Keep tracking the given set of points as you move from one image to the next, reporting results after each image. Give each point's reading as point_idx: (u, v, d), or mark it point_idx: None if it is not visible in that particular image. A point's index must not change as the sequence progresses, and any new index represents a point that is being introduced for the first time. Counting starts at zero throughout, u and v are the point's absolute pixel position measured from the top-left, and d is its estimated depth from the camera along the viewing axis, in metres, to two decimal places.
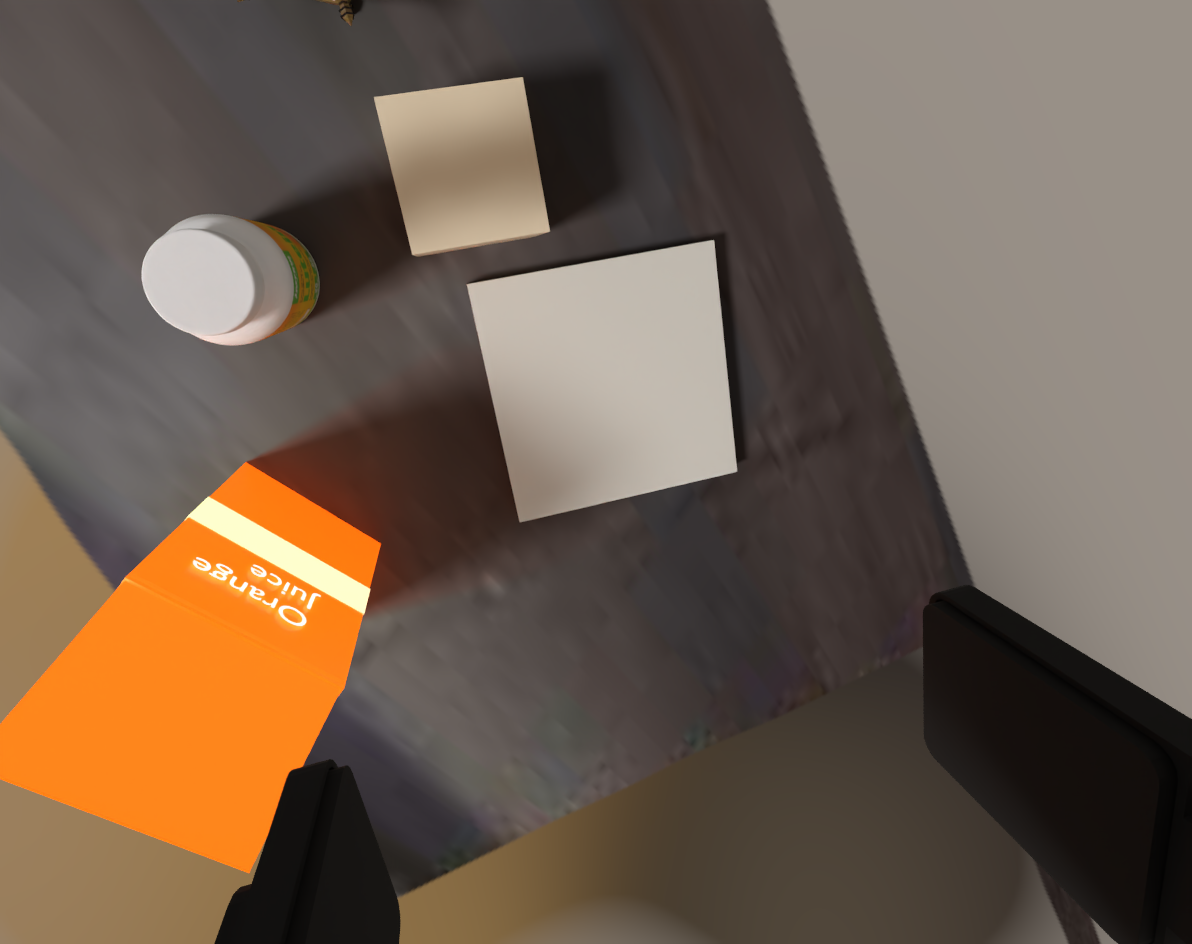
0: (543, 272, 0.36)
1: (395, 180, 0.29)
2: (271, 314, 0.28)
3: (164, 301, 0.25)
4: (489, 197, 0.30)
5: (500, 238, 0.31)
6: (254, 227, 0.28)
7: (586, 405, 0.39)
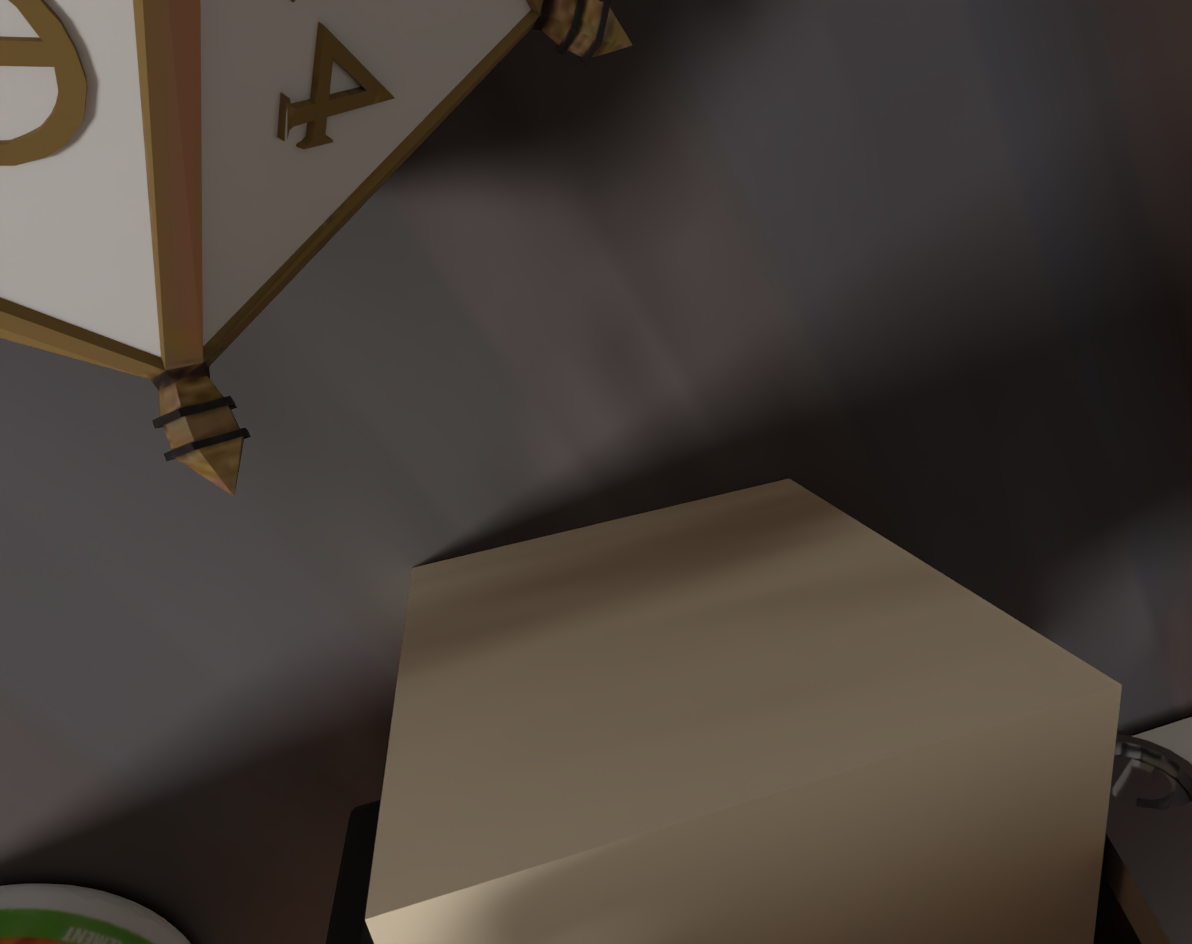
0: None
1: None
2: None
3: None
4: None
5: None
6: None
7: None
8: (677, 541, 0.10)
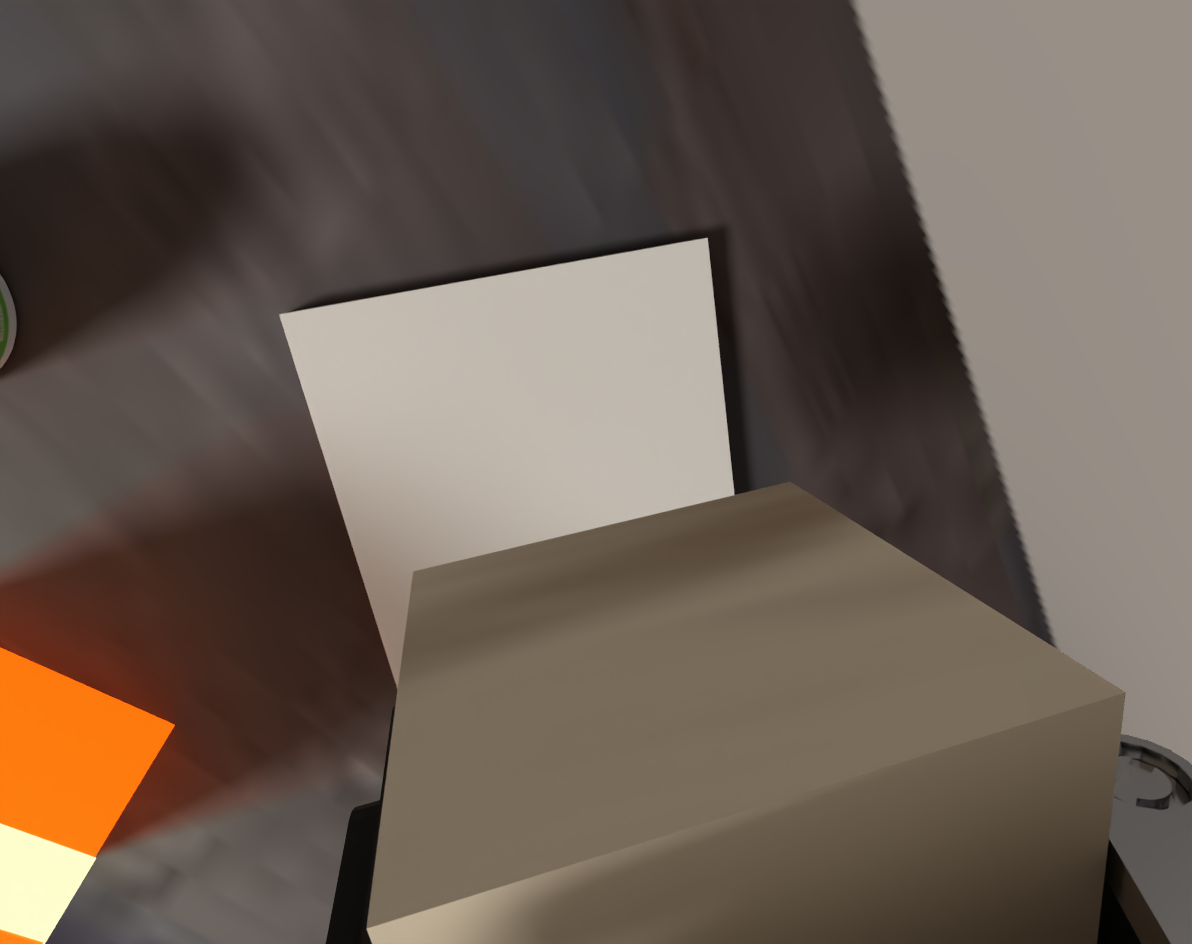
0: (415, 293, 0.21)
1: None
2: None
3: None
4: None
5: None
6: None
7: (500, 508, 0.24)
8: (678, 545, 0.10)
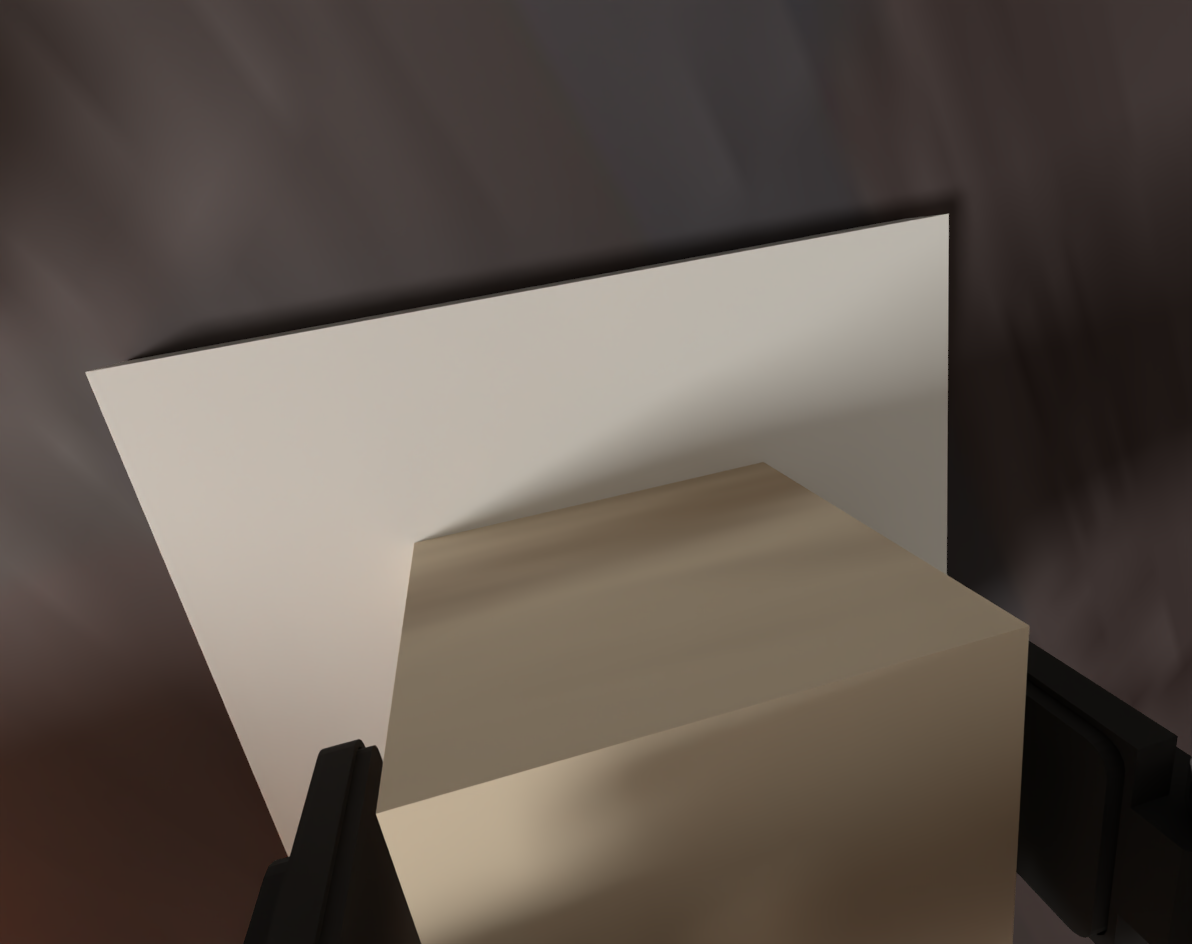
0: (378, 324, 0.10)
1: None
2: None
3: None
4: None
5: None
6: None
7: None
8: (657, 517, 0.11)
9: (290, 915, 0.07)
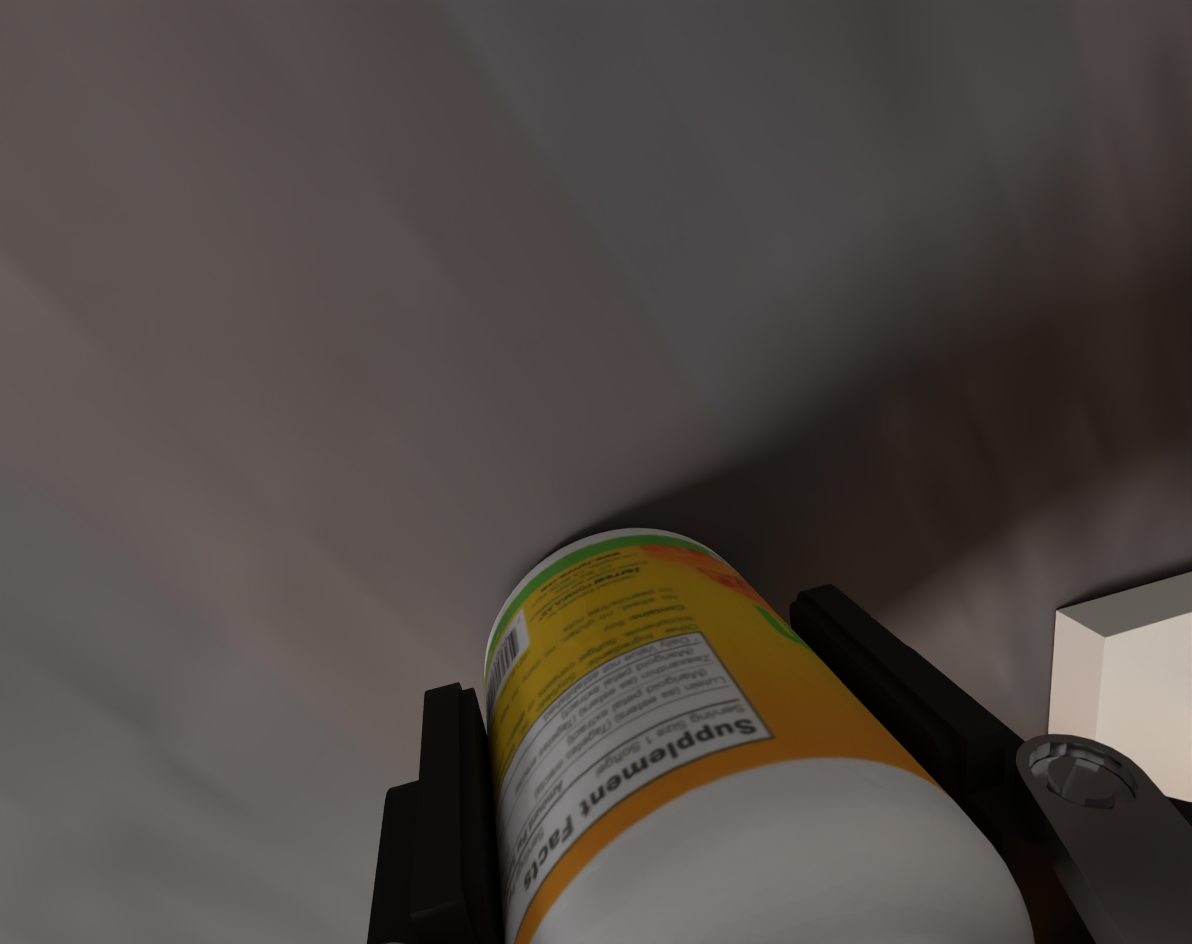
0: None
1: None
2: None
3: None
4: None
5: None
6: (959, 822, 0.06)
7: None
8: None
9: (431, 819, 0.08)
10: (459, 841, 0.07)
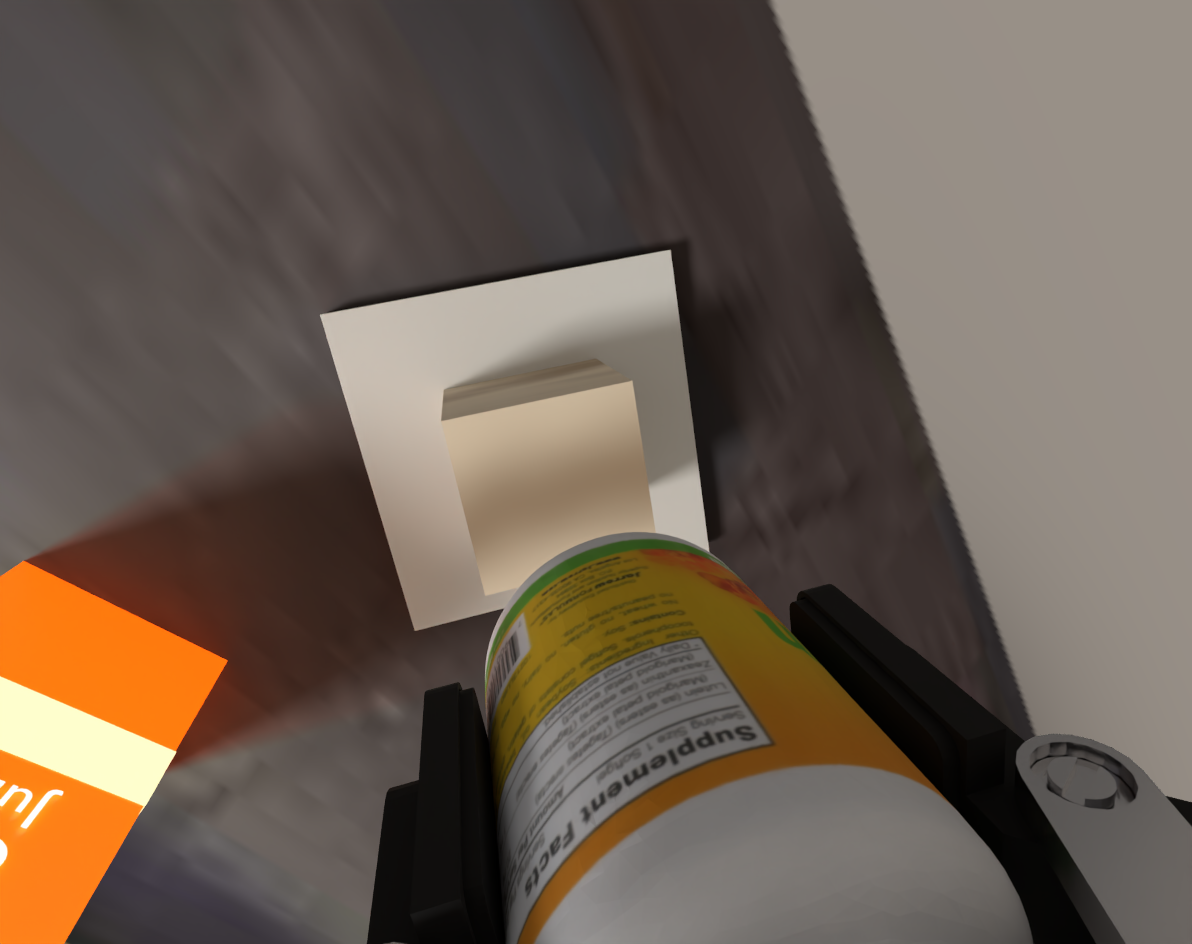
0: (430, 296, 0.26)
1: (466, 513, 0.22)
2: None
3: None
4: (584, 521, 0.23)
5: None
6: (958, 829, 0.06)
7: None
8: (542, 375, 0.26)
9: (431, 819, 0.08)
10: (459, 840, 0.07)
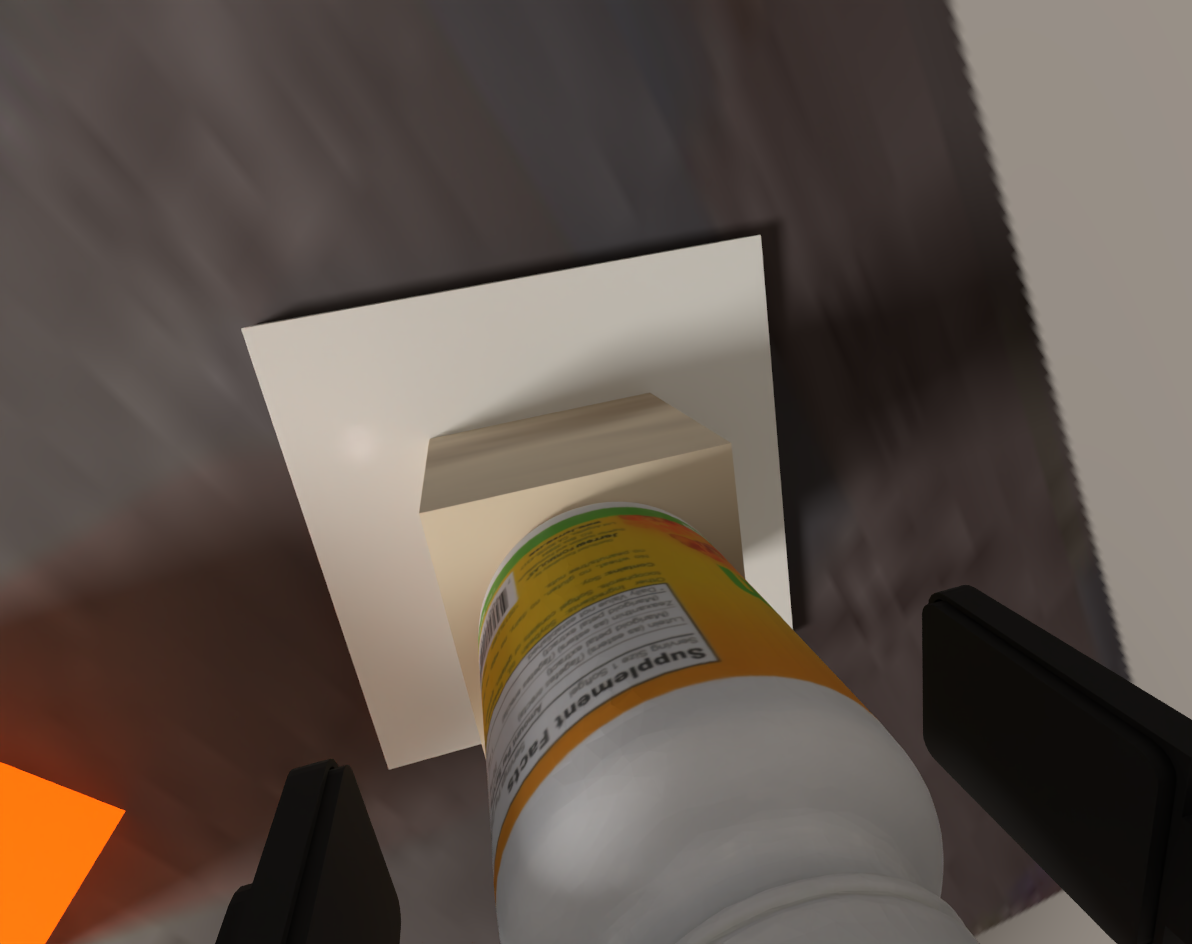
0: (409, 302, 0.17)
1: (460, 656, 0.14)
2: None
3: None
4: None
5: None
6: (873, 729, 0.07)
7: None
8: (575, 419, 0.18)
9: None
10: None
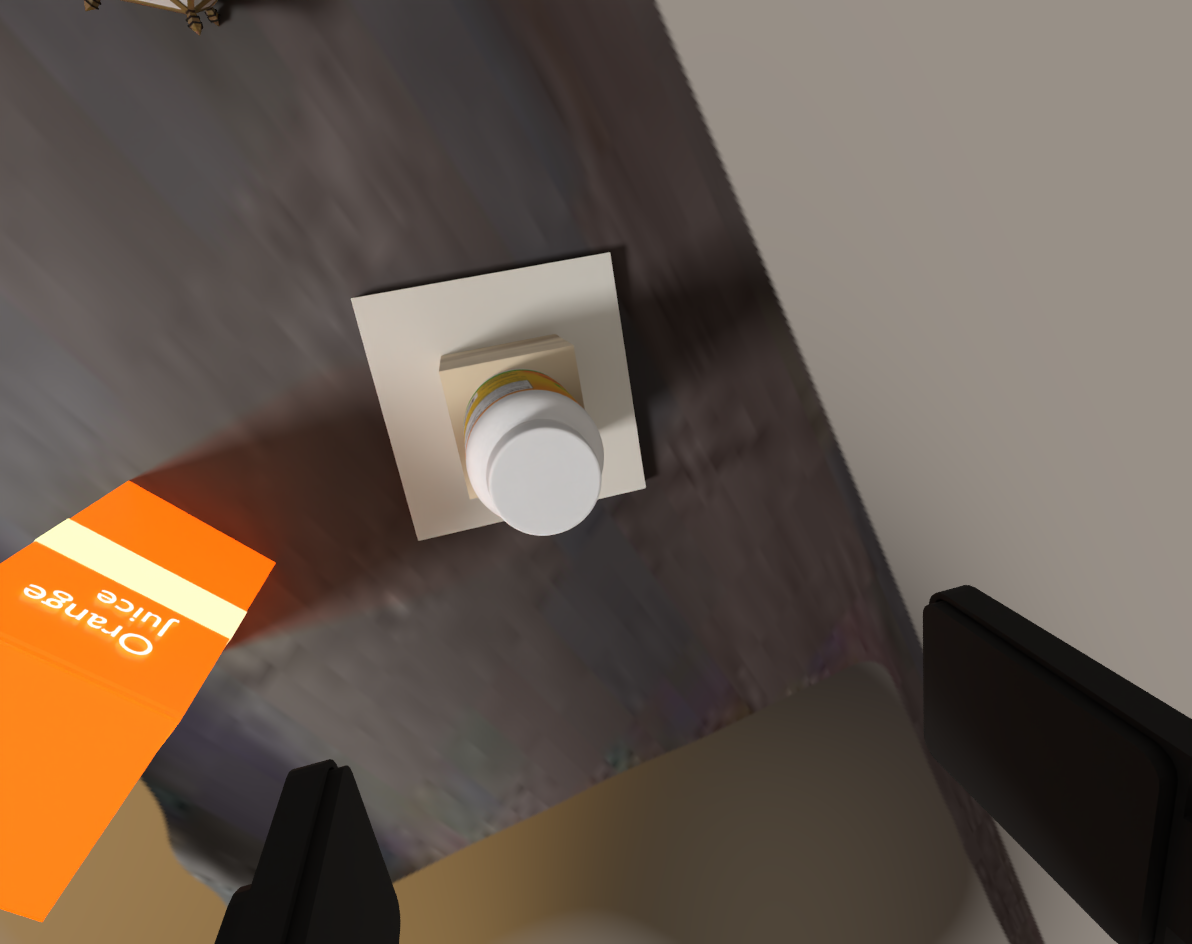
0: (431, 286, 0.35)
1: (456, 438, 0.32)
2: None
3: (509, 503, 0.23)
4: None
5: None
6: (575, 404, 0.25)
7: None
8: (514, 344, 0.35)
9: None
10: None
